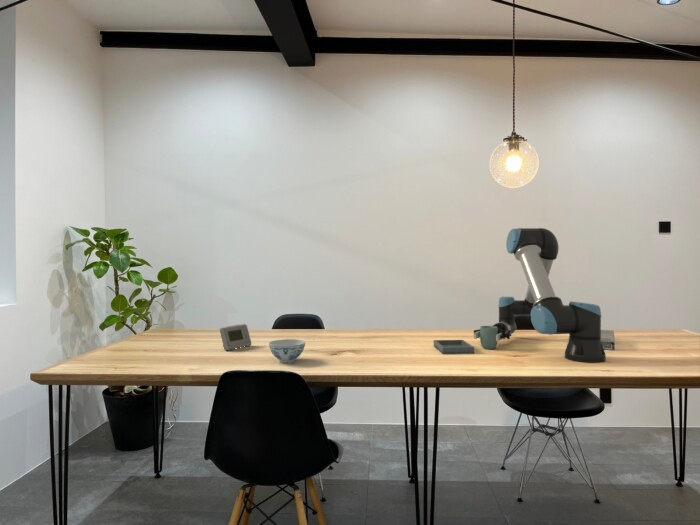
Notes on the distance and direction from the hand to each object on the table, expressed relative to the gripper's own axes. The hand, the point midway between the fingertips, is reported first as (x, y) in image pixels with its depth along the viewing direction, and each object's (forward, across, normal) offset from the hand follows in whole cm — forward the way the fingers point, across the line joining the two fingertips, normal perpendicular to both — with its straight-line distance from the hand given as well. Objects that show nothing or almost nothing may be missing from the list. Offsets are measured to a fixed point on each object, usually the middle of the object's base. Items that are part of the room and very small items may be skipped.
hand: (485, 336), depth 214 cm
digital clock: (+57, +101, -6) cm, 116 cm away
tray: (+7, +13, -6) cm, 16 cm away
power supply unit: (-44, -38, -7) cm, 59 cm away
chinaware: (+65, +62, -6) cm, 90 cm away
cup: (-4, 0, -6) cm, 8 cm away
